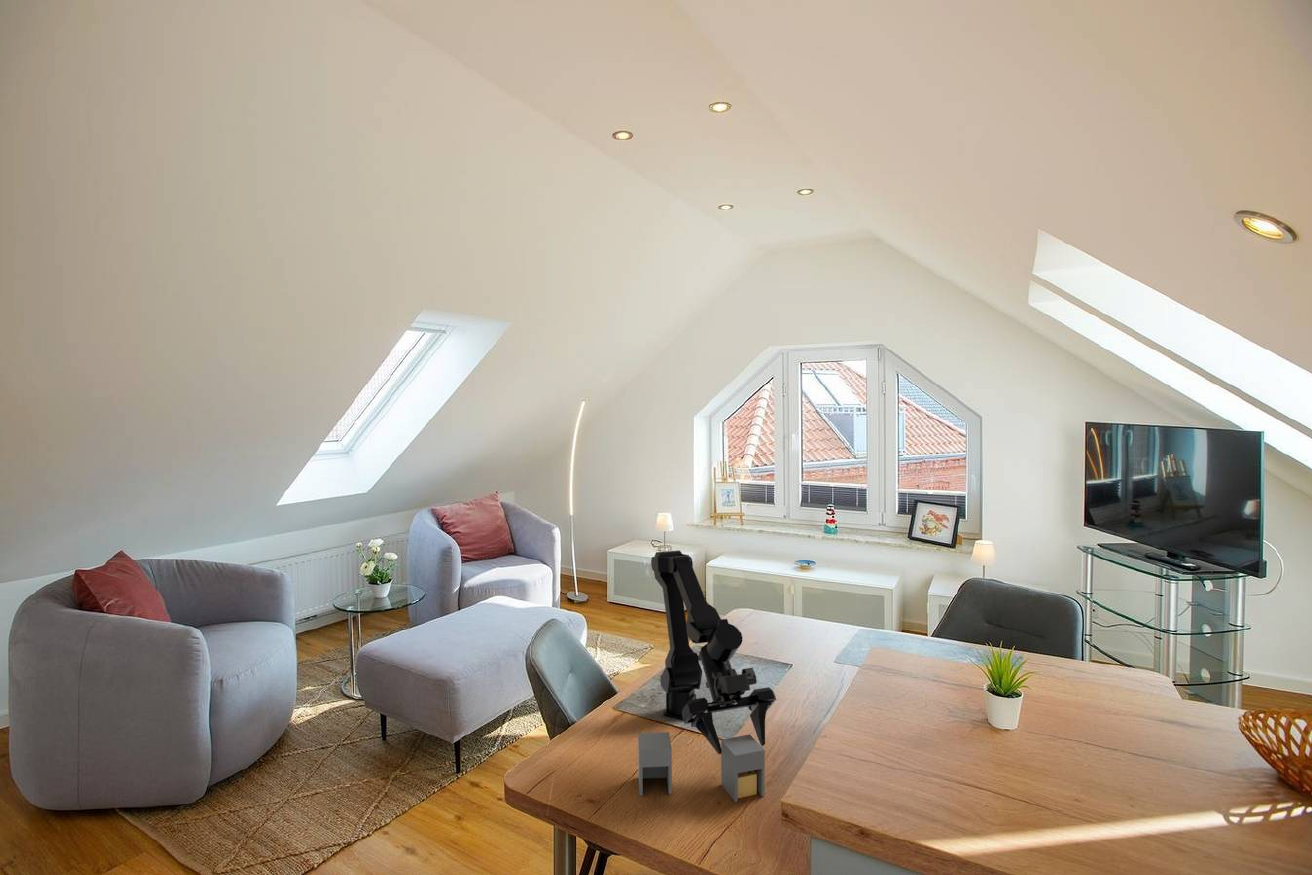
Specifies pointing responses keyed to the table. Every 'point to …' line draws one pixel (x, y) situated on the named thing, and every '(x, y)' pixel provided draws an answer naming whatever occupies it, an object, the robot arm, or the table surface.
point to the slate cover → (654, 758)
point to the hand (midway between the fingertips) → (742, 749)
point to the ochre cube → (747, 784)
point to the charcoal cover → (741, 763)
